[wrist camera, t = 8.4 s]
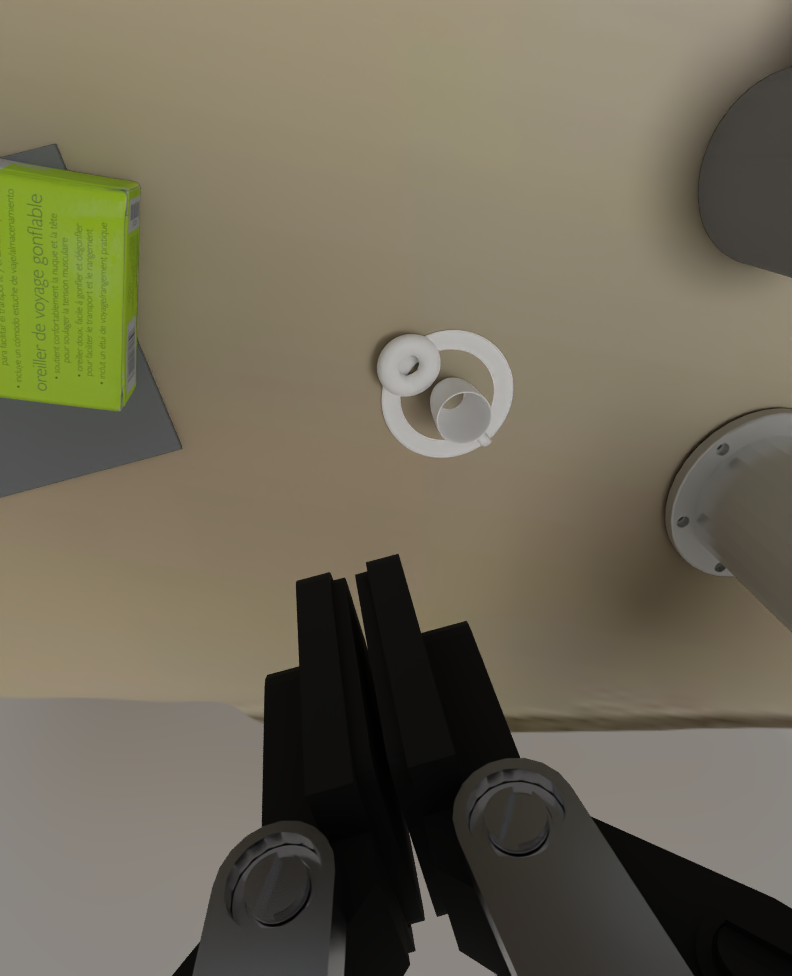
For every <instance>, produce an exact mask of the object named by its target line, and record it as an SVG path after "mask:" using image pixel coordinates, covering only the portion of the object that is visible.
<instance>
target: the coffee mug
mask: <svg viewBox="0 0 792 976" xmlns="http://www.w3.org/2000/svg"><path fill="white" fill-rule="evenodd" d="M698 201H699V210H700V215H701V219H702V223H703V225H704V227H705V229H706V231H707V233H708V235H709V237H710V238H711V240H712V241H713V243H714V244H715V245H716V247H717V248H718V249H719V250H720V251H722V252H723V253H724V254H726V255H727V256H729V257H730V258H732V259H734V260H736V261H739V262H742V263H745V264H748V265H752V266H755V267H758V268H762V269H765V270H768V271H772V272H775V273H778V274H782V275H785V276H788V277H792V67H791V68H787V69H783V70H781V71H778V72H776V73H773V74H772V75H770V76H768V77H766V78H764V79H763V80H761V81H760V82H758V83H757V84H755V85H754V86H753V87H751V88H750V89H749V90H748V91H747V92H746V93H745V94H743V95H742V96H741V97H740V98H739V99H738V100H737V101H736V102H735V103H734V104H733V106H732V107H731V108H730V109H729V111H728V112H727V113H726V115H725V116H724V118H723V119H722V120H721V122H720V123H719V125H718V127H717V129H716V130H715V132H714V134H713V136H712V138H711V141H710V143H709V145H708V147H707V149H706V152H705V155H704V159H703V162H702V167H701V171H700V178H699V185H698Z"/></svg>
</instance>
